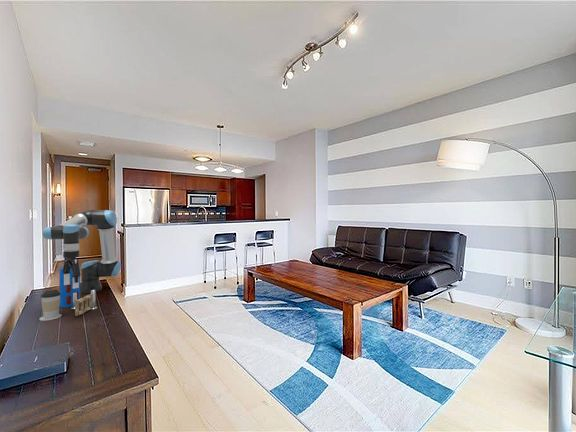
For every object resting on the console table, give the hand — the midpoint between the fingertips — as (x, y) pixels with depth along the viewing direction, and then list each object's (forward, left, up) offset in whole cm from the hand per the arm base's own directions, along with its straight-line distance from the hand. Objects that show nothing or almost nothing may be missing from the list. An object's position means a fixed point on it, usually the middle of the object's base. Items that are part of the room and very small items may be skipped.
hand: (71, 286), depth 169 cm
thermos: (-22, -16, -18) cm, 33 cm away
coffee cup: (+1, -11, -18) cm, 21 cm away
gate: (-5, +4, -17) cm, 18 cm away
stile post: (-15, -8, -18) cm, 25 cm away
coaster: (+1, -11, -18) cm, 21 cm away
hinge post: (-14, +4, -18) cm, 23 cm away
